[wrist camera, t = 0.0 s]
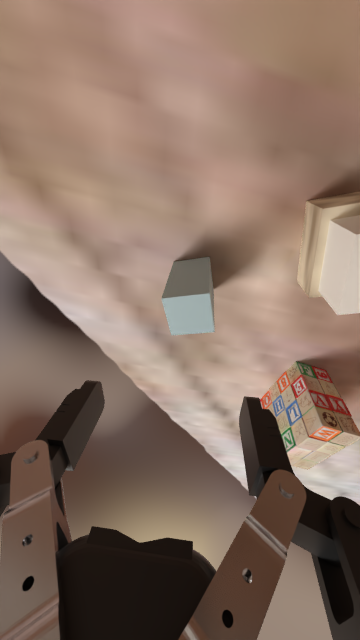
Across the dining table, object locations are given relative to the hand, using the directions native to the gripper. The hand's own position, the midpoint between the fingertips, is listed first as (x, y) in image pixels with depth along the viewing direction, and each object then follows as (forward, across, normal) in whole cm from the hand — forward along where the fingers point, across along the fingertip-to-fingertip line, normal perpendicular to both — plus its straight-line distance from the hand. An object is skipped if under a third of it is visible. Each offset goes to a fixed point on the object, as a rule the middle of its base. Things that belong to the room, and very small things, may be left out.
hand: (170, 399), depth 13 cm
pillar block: (+23, 0, 0) cm, 23 cm away
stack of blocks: (+27, -19, +26) cm, 42 cm away
